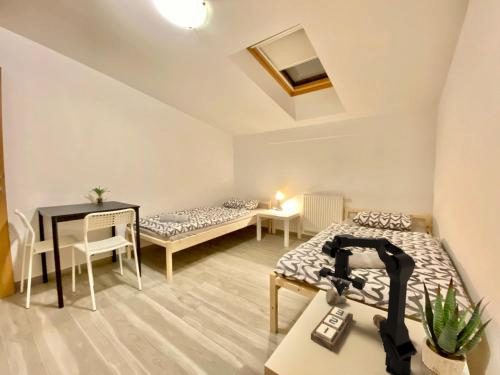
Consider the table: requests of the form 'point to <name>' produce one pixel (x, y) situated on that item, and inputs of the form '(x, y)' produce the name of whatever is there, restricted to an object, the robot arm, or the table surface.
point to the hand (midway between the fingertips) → (340, 295)
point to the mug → (334, 297)
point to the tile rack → (338, 335)
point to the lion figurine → (378, 320)
